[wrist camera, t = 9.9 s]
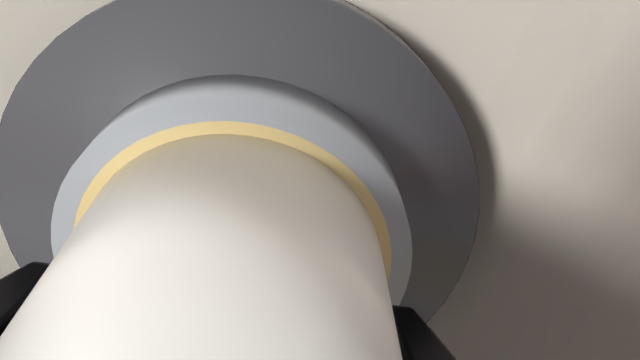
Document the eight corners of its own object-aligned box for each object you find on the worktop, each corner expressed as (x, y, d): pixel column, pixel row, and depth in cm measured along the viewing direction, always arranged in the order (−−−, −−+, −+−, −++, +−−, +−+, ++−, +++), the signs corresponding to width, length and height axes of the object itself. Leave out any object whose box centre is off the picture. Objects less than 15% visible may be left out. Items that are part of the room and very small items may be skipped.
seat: (537, 25, 10) (588, 55, 8) (405, 382, 15) (418, 450, 13) (-18, -76, 9) (-99, -67, 7) (34, 343, 14) (-6, 411, 12)
